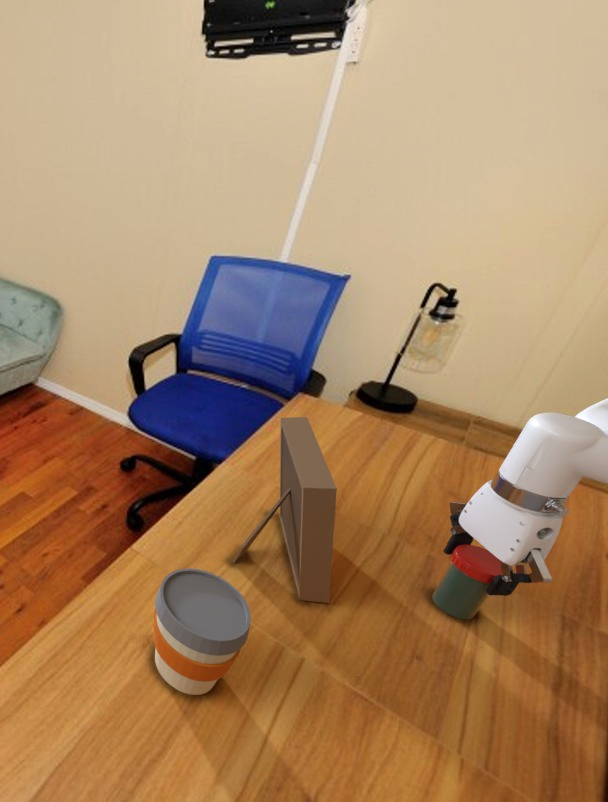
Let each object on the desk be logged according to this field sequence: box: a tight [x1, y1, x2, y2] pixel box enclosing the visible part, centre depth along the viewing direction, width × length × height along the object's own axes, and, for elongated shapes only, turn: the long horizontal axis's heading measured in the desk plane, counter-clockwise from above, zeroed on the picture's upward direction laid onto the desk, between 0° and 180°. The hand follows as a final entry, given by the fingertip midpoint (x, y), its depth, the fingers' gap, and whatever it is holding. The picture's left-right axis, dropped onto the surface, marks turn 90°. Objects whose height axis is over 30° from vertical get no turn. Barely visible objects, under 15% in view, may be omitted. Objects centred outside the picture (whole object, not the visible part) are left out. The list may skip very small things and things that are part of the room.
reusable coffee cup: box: [152, 567, 252, 696], centre depth 76 cm, size 12×12×15 cm
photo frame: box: [231, 416, 338, 604], centre depth 93 cm, size 15×22×25 cm
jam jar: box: [431, 561, 490, 620], centre depth 85 cm, size 6×6×11 cm
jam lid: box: [450, 544, 502, 584], centre depth 83 cm, size 7×7×2 cm
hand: (474, 572), depth 84 cm, fingers open, 7 cm apart
